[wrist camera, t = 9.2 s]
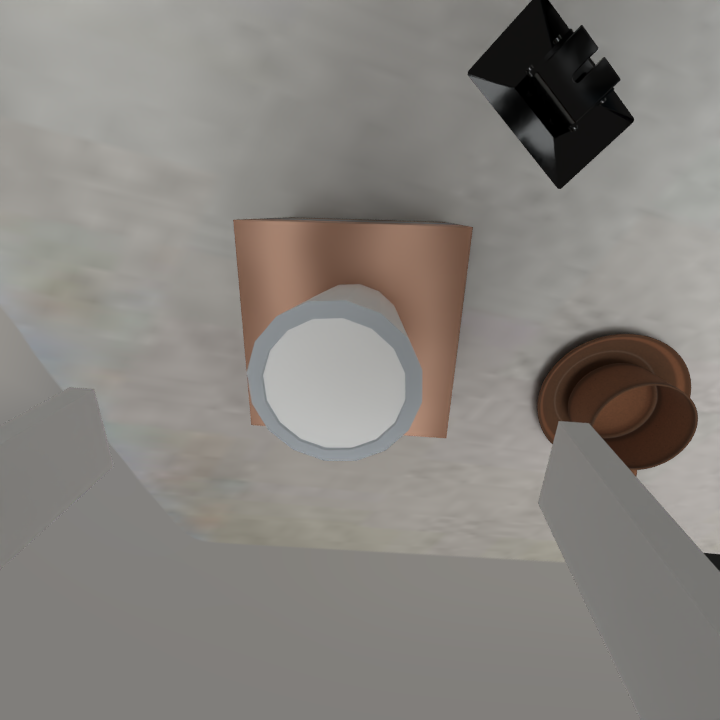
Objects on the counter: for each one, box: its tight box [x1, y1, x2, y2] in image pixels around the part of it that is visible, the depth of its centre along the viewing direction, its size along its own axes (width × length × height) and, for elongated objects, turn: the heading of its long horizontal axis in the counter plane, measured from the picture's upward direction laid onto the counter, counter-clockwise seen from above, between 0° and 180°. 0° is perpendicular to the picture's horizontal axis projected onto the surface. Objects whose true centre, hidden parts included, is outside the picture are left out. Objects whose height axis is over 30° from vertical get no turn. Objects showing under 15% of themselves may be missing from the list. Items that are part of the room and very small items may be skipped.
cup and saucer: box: [537, 334, 698, 476], centre depth 31 cm, size 12×12×6 cm
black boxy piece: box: [468, 0, 634, 189], centre depth 25 cm, size 13×8×5 cm, turn 46°
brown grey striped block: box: [233, 217, 473, 438], centre depth 27 cm, size 12×12×12 cm
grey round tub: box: [247, 284, 422, 461], centre depth 18 cm, size 7×7×7 cm
